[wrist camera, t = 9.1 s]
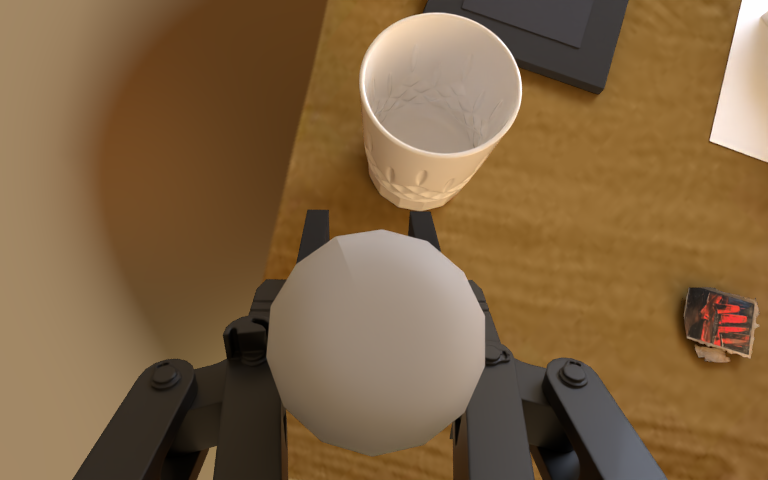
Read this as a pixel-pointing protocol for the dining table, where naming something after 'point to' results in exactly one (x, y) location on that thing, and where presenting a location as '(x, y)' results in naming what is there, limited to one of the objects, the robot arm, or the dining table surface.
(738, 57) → the napkin holder
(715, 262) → the dining table surface
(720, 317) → the matchbox
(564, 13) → the rubber pad
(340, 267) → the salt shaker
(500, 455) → the robot arm
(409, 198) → the white cup
